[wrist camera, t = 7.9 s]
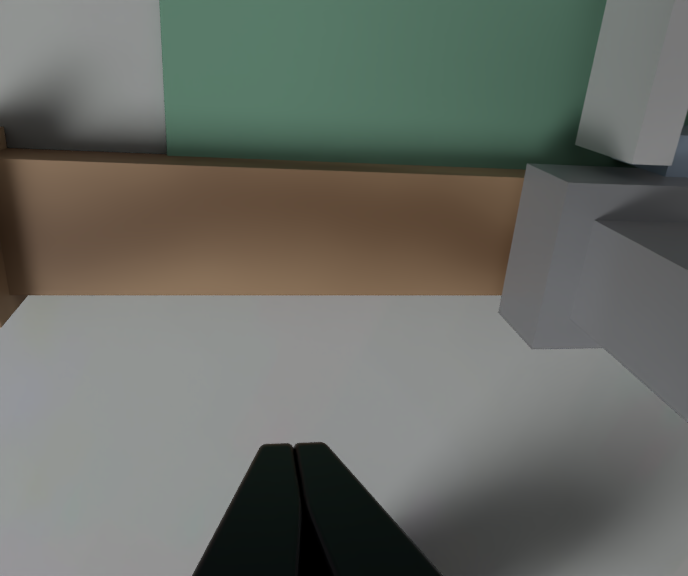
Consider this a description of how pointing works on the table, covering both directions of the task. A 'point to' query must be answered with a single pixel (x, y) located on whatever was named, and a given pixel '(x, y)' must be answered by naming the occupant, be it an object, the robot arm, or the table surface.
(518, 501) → the table surface
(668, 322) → the kicker
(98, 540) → the table surface
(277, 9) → the pitch mat
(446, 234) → the rail
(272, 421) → the table surface
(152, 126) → the table surface
